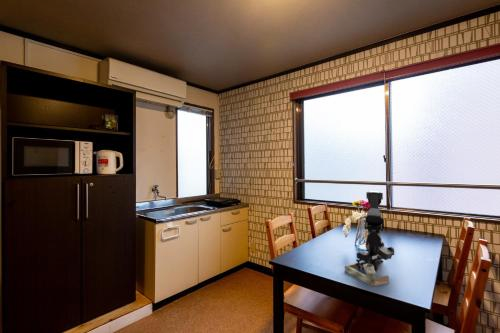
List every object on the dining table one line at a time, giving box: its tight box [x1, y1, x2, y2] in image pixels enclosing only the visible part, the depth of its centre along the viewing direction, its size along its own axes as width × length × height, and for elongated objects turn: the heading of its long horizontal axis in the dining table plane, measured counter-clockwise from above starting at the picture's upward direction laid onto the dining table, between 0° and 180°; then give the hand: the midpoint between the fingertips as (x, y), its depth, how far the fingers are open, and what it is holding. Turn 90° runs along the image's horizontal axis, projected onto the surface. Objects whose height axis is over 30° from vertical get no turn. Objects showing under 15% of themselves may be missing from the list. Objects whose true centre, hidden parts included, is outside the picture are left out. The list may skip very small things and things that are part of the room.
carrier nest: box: [344, 262, 390, 288], centre depth 119 cm, size 17×10×3 cm, turn 22°
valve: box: [355, 258, 377, 278], centre depth 120 cm, size 7×7×12 cm
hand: (375, 271), depth 121 cm, fingers closed
